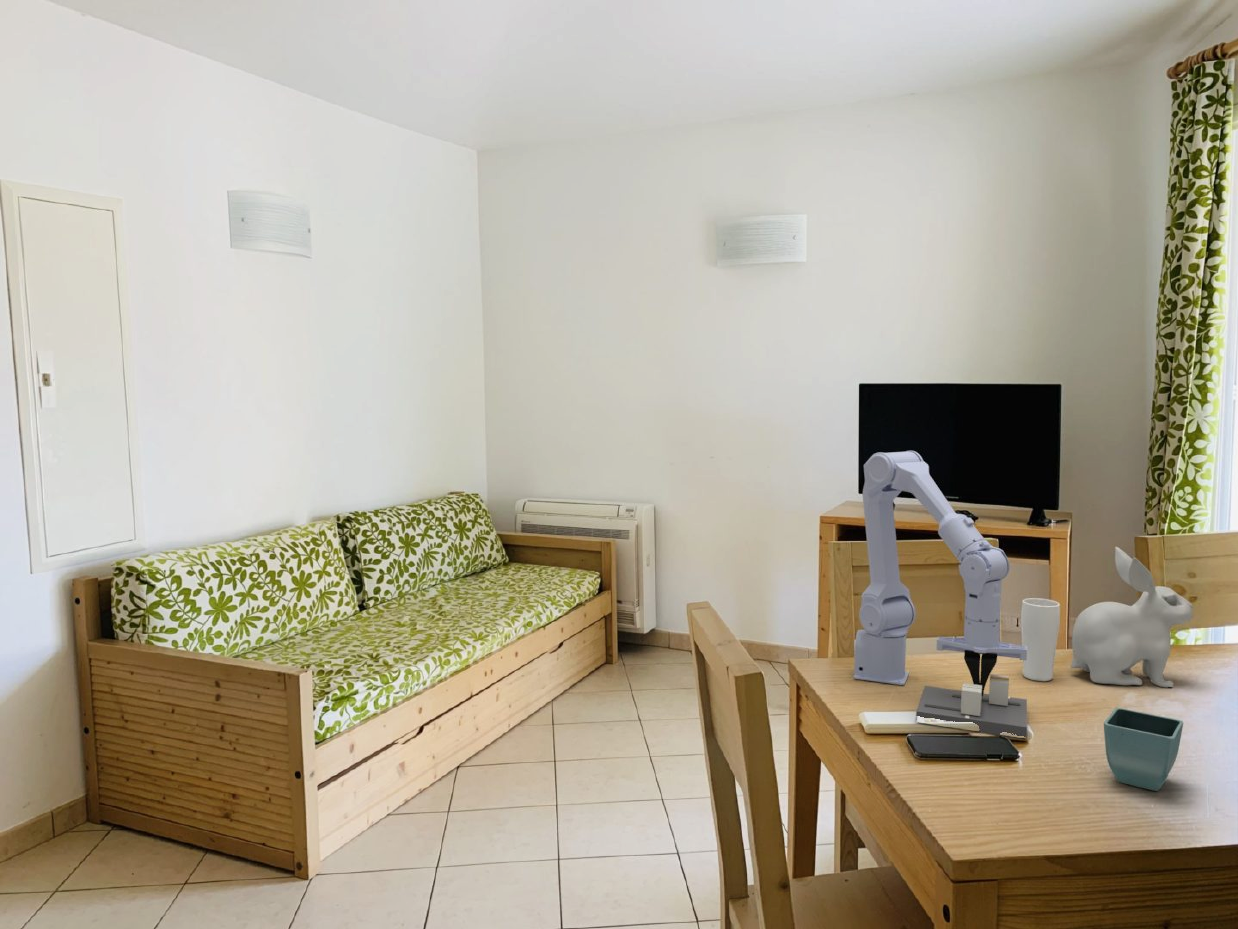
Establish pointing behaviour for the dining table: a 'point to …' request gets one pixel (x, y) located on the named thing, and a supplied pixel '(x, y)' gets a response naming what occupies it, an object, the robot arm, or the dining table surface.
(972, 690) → the near fader knob
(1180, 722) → the flower pot
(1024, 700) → the panel
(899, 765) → the dining table surface
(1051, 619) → the drinking glass
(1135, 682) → the rabbit
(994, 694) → the far fader knob
